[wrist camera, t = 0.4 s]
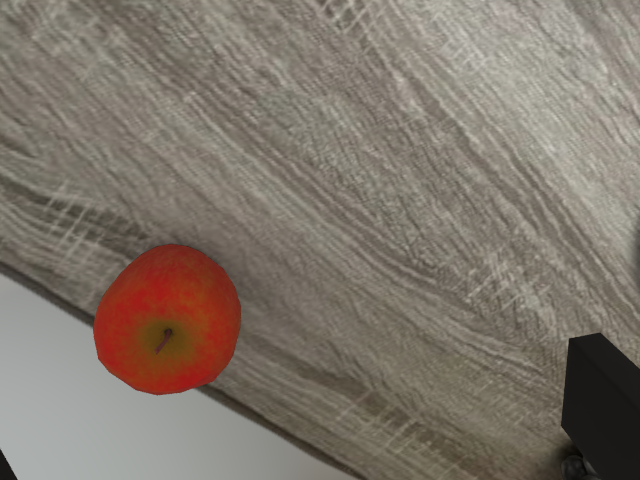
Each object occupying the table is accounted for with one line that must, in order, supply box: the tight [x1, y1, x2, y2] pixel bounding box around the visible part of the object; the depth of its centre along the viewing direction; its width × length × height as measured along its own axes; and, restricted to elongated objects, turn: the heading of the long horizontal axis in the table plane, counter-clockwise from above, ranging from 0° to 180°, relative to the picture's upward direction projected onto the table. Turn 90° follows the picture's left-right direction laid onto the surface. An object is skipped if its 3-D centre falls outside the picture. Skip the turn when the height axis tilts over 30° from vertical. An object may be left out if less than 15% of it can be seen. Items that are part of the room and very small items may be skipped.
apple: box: [93, 244, 241, 395], centre depth 24 cm, size 6×6×8 cm
